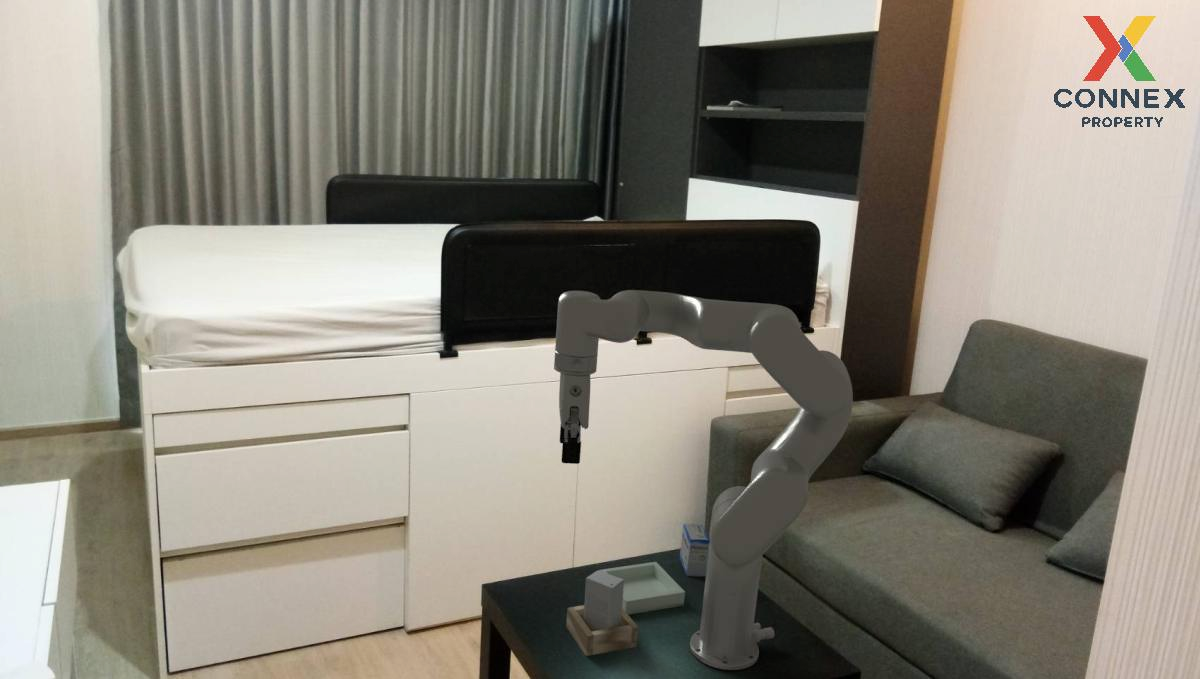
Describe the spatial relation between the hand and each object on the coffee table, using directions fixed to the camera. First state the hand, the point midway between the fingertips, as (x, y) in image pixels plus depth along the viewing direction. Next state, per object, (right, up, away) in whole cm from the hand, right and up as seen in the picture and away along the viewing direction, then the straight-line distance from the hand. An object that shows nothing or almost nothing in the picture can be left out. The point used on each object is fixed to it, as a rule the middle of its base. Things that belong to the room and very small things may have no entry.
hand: (569, 452), depth 165 cm
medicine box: (+26, -29, +34) cm, 52 cm away
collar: (+6, -35, +5) cm, 36 cm away
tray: (+14, -31, +21) cm, 40 cm away
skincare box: (+6, -35, +5) cm, 36 cm away
